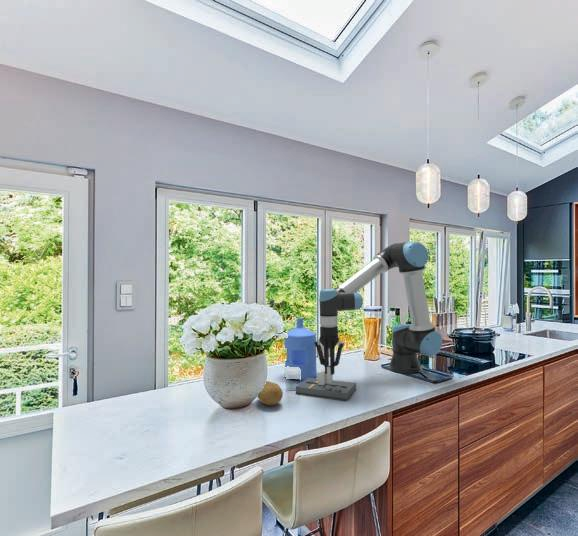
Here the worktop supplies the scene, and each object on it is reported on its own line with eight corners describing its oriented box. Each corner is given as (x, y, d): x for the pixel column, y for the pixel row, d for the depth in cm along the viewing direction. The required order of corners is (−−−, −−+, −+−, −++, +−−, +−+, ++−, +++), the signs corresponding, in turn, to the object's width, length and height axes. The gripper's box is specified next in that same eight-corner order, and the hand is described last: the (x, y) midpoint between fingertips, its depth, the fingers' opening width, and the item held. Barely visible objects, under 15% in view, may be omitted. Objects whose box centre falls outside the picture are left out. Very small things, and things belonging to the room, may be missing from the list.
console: (356, 390, 154) (355, 379, 154) (346, 401, 142) (346, 389, 142) (308, 384, 164) (308, 374, 164) (295, 393, 151) (295, 383, 151)
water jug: (300, 369, 187) (299, 316, 187) (323, 375, 176) (322, 318, 176) (278, 376, 176) (277, 319, 176) (301, 383, 165) (300, 322, 165)
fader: (327, 387, 154) (327, 370, 155) (324, 390, 151) (323, 373, 151) (320, 387, 156) (320, 370, 156) (317, 389, 152) (317, 372, 152)
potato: (273, 396, 149) (273, 376, 149) (288, 407, 136) (288, 386, 136) (251, 400, 144) (250, 380, 145) (264, 412, 132) (264, 390, 132)
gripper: (346, 325, 153) (347, 381, 152) (317, 323, 158) (318, 377, 158) (341, 327, 146) (342, 386, 146) (311, 326, 151) (312, 382, 151)
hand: (329, 381), depth 152 cm, fingers closed
